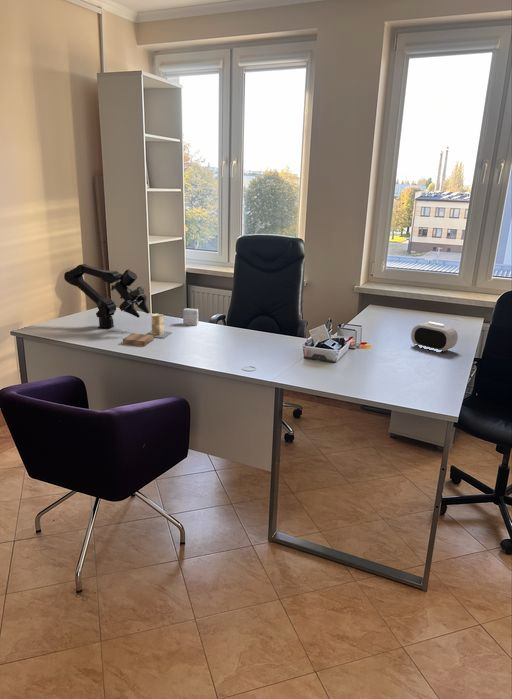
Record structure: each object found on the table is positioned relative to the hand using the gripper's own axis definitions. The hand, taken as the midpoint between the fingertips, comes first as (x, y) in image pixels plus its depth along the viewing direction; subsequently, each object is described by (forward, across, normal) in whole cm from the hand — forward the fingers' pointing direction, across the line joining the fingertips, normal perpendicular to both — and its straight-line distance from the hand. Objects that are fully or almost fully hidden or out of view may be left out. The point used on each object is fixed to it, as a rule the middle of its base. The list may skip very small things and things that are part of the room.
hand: (143, 315), depth 260 cm
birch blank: (+12, 0, +1) cm, 12 cm away
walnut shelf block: (+11, -15, +2) cm, 19 cm away
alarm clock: (+108, +41, -95) cm, 149 cm away
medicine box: (+17, +27, -3) cm, 32 cm away
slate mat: (+12, 0, +1) cm, 12 cm away
